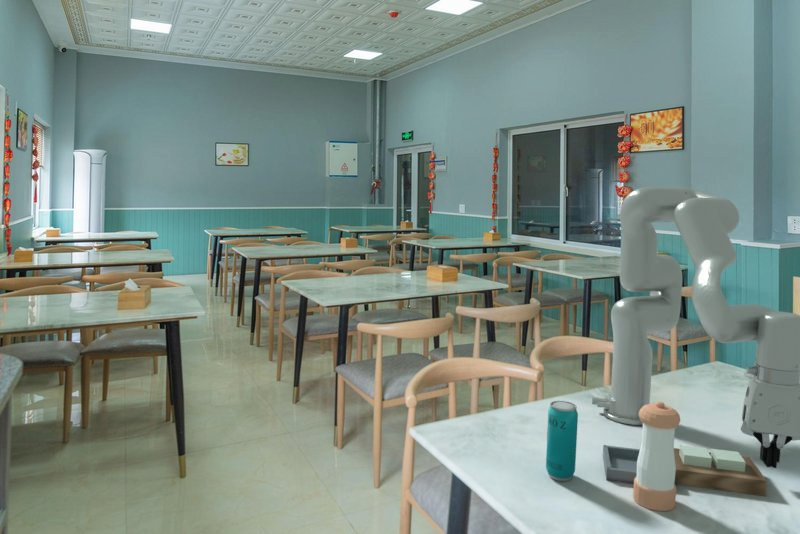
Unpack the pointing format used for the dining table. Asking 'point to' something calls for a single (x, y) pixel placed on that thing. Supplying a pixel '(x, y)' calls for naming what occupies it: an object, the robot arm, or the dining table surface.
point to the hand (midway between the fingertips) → (769, 464)
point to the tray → (620, 463)
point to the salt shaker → (656, 458)
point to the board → (721, 477)
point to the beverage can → (561, 440)
